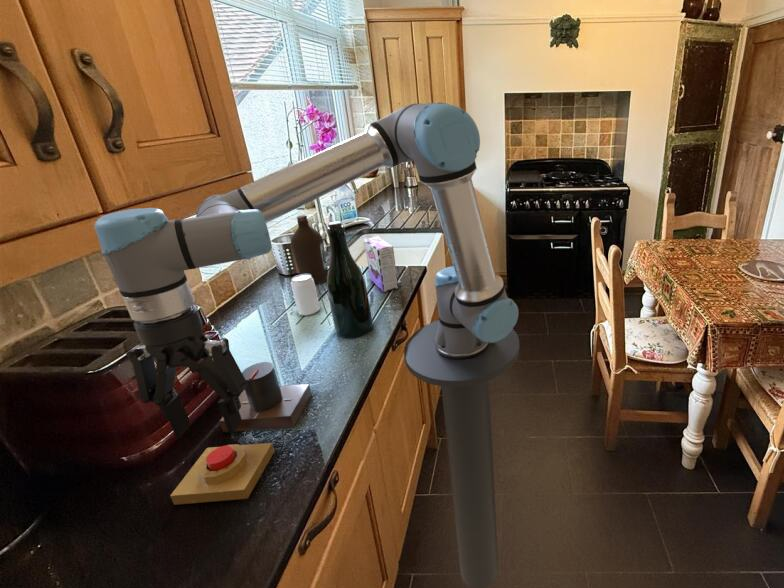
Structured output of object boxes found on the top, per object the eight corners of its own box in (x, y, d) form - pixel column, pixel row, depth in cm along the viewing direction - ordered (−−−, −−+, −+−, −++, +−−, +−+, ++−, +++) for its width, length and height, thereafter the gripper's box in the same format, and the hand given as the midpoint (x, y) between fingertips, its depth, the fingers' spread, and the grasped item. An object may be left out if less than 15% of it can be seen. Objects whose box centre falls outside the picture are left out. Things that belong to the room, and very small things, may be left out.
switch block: (275, 451, 78) (270, 435, 76) (247, 498, 69) (241, 481, 67) (210, 456, 77) (204, 440, 76) (173, 505, 68) (166, 488, 66)
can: (323, 306, 133) (316, 273, 128) (314, 316, 127) (306, 281, 122) (304, 306, 133) (296, 273, 128) (294, 316, 127) (285, 281, 122)
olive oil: (300, 288, 146) (284, 222, 137) (299, 277, 155) (285, 214, 145) (331, 281, 150) (318, 217, 141) (329, 272, 159) (317, 210, 150)
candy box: (369, 280, 151) (363, 238, 145) (384, 275, 155) (379, 235, 149) (383, 292, 141) (376, 249, 135) (399, 288, 144) (393, 245, 138)
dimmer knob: (259, 392, 89) (249, 361, 86) (287, 390, 90) (278, 359, 87) (244, 412, 84) (234, 379, 80) (274, 410, 84) (265, 377, 81)
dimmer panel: (312, 394, 93) (309, 383, 92) (293, 427, 83) (289, 415, 82) (249, 398, 92) (245, 387, 91) (222, 432, 82) (218, 420, 81)
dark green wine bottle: (373, 335, 116) (354, 225, 104) (334, 341, 113) (310, 230, 101) (373, 317, 125) (356, 215, 113) (337, 323, 122) (315, 219, 110)
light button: (240, 451, 74) (237, 444, 73) (227, 470, 70) (224, 462, 69) (217, 453, 73) (214, 446, 73) (203, 472, 70) (200, 464, 69)
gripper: (67, 329, 56) (128, 451, 65) (222, 320, 58) (261, 441, 66) (112, 303, 63) (162, 417, 72) (249, 296, 65) (282, 408, 73)
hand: (209, 428), depth 69 cm, fingers open, 8 cm apart
